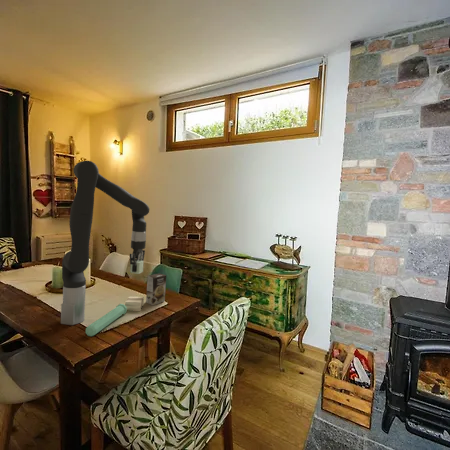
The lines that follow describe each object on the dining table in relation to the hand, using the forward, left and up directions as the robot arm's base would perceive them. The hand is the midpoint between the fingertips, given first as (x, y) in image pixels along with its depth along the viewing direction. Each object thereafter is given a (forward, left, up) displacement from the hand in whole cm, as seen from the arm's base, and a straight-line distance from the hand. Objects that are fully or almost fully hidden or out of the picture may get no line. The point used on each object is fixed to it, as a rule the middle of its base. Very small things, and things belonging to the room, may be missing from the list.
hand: (136, 270), depth 144 cm
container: (-21, +4, -22) cm, 30 cm away
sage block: (0, 0, -1) cm, 1 cm away
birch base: (0, 0, -21) cm, 21 cm away
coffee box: (+12, -8, -21) cm, 25 cm away
